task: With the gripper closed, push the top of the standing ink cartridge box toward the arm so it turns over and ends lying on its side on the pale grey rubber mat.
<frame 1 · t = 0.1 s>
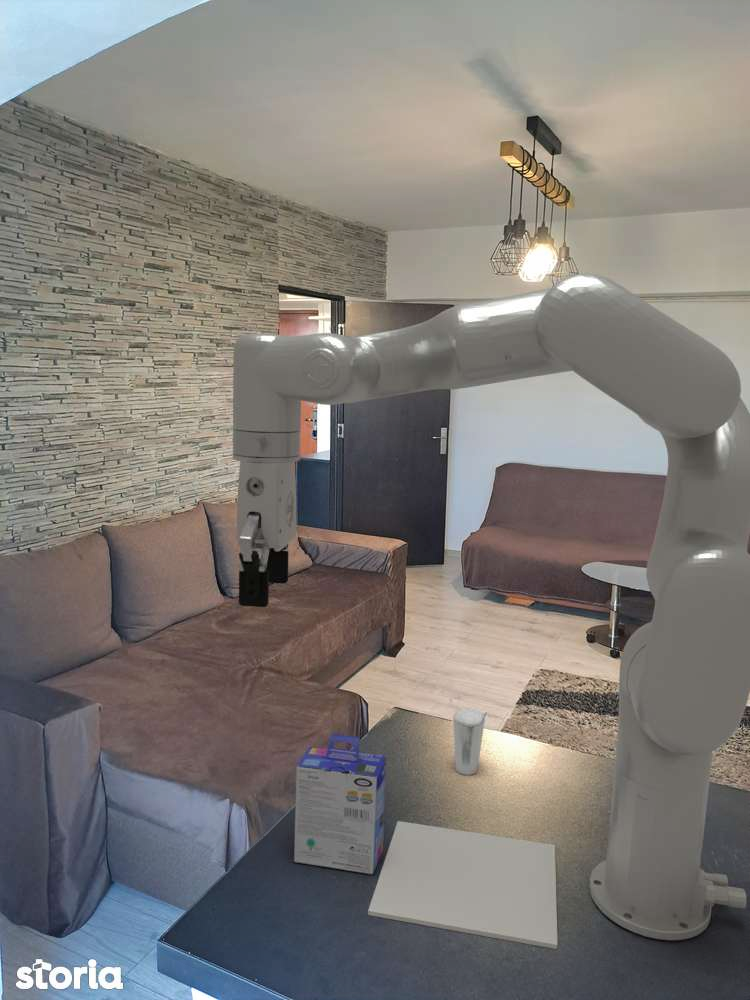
hand: (264, 593, 88), 31 cm above the counter, tool pointing down, fingers open, 9 cm apart
ink cartridge box: (339, 857, 90), on the counter
mat: (467, 879, 86), on the counter
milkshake: (468, 771, 110), on the counter
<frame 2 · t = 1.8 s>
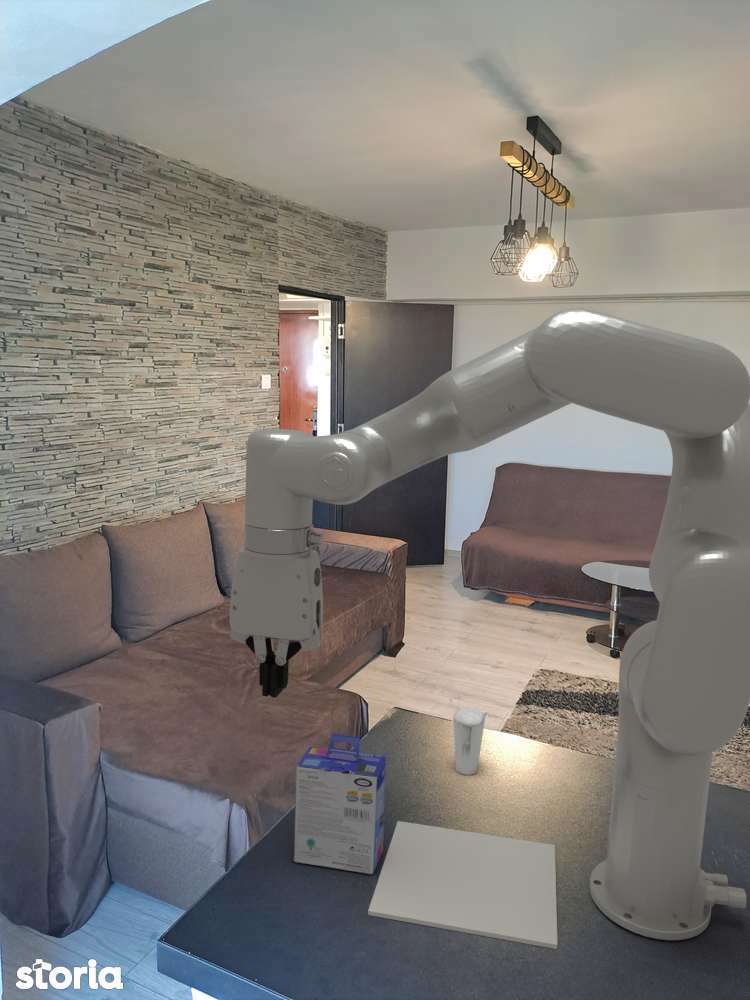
hand: (273, 692, 89), 19 cm above the counter, tool pointing down, fingers closed
nothing on the counter moved.
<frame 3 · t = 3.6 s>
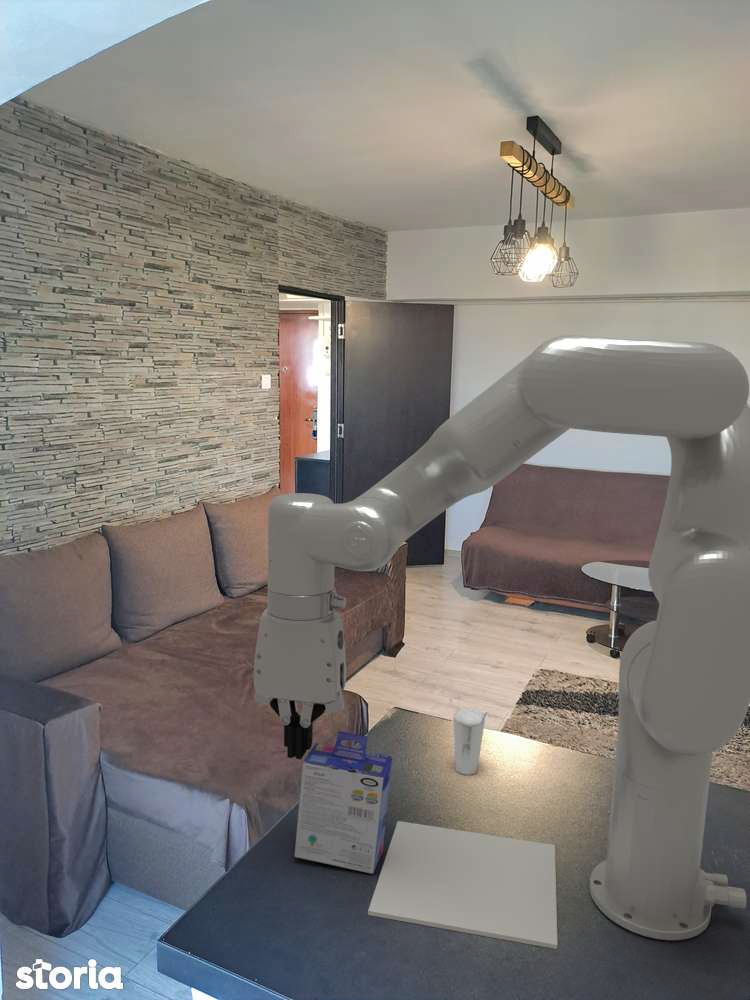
hand: (298, 752, 89), 12 cm above the counter, tool pointing down, fingers closed
ink cartridge box: (339, 854, 90), on the counter, touching gripper
everything else where it was.
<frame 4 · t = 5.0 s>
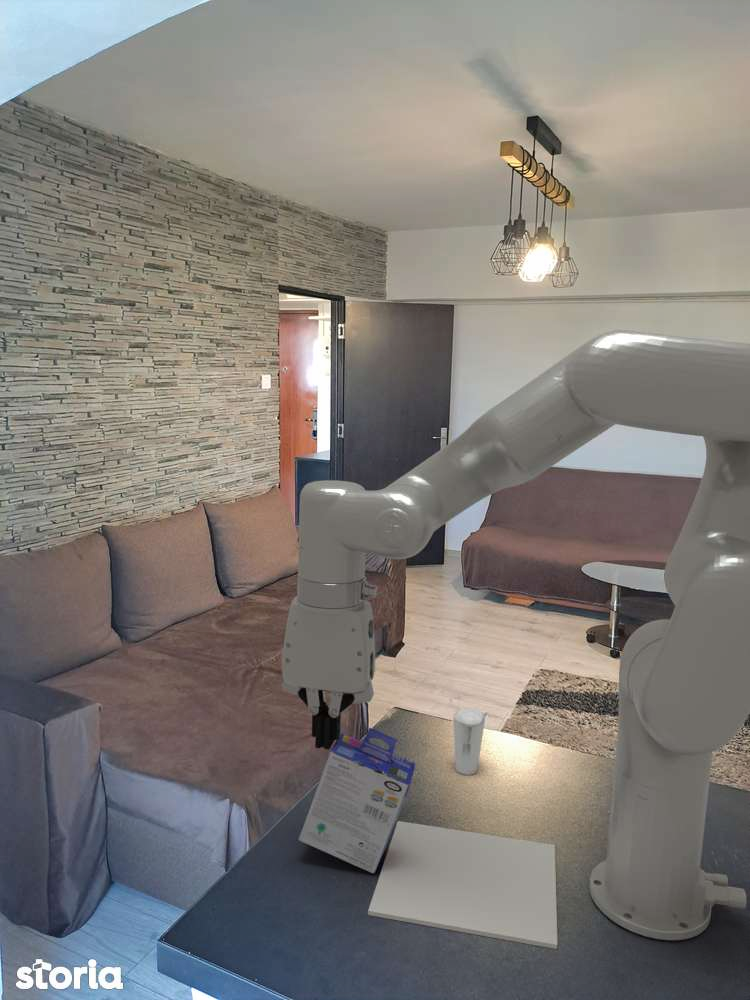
hand: (325, 743, 88), 14 cm above the counter, tool pointing down, fingers closed
ink cartridge box: (341, 846, 90), point 1 cm above the counter, touching gripper
everything else where it was.
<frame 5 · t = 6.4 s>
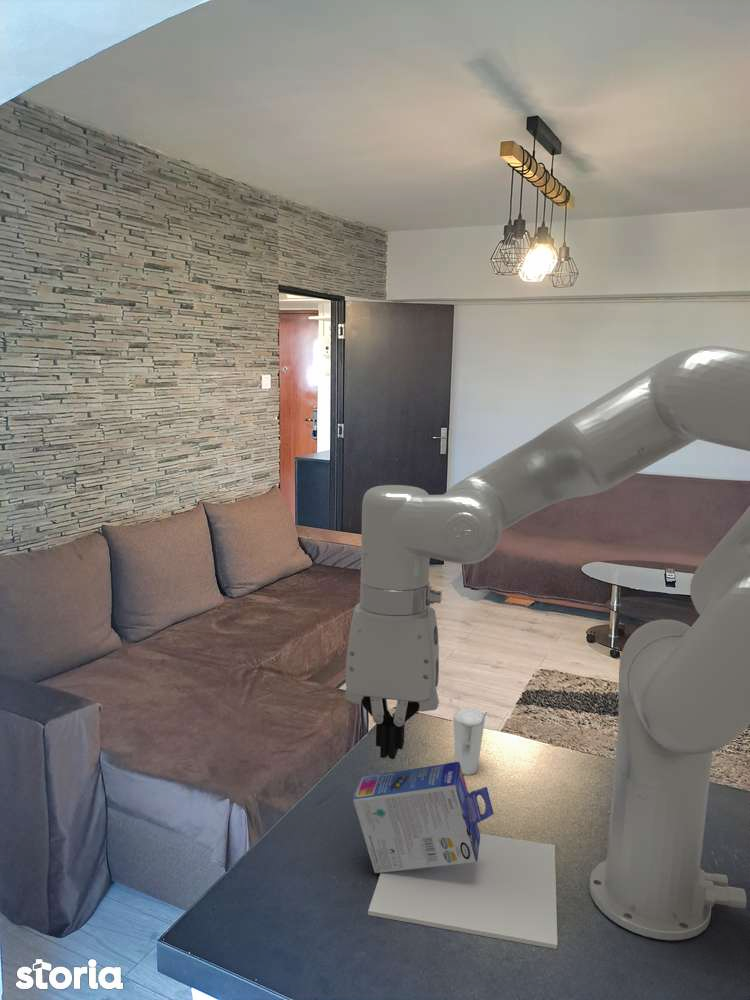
hand: (389, 752, 87), 14 cm above the counter, tool pointing down, fingers closed
ink cartridge box: (365, 823, 88), point 5 cm above the counter, touching mat
everything else where it was.
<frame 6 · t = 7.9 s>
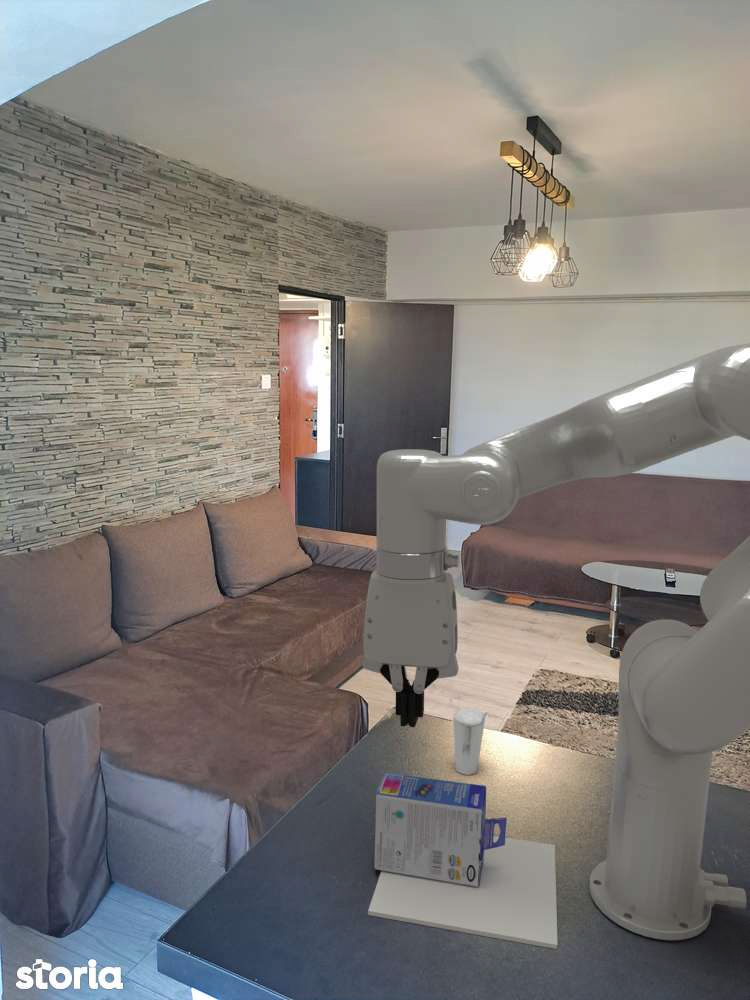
hand: (409, 721, 85), 18 cm above the counter, tool pointing down, fingers closed
ink cartridge box: (377, 818, 88), point 5 cm above the counter, touching mat
everything else where it was.
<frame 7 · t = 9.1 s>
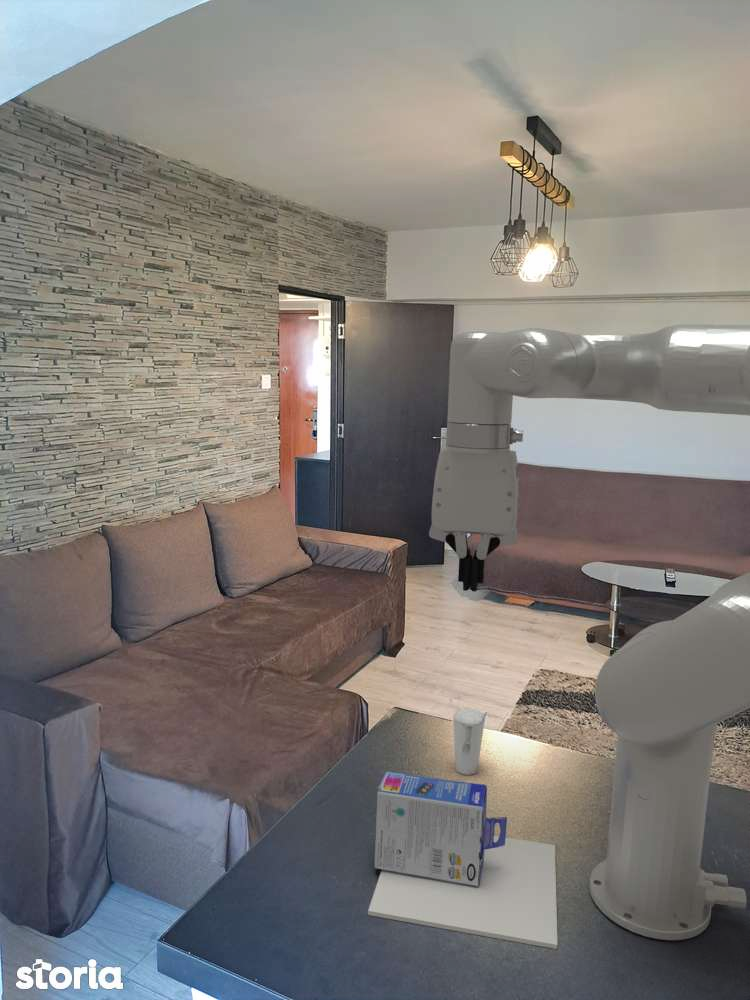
hand: (470, 587, 93), 31 cm above the counter, tool pointing down, fingers closed
nothing on the counter moved.
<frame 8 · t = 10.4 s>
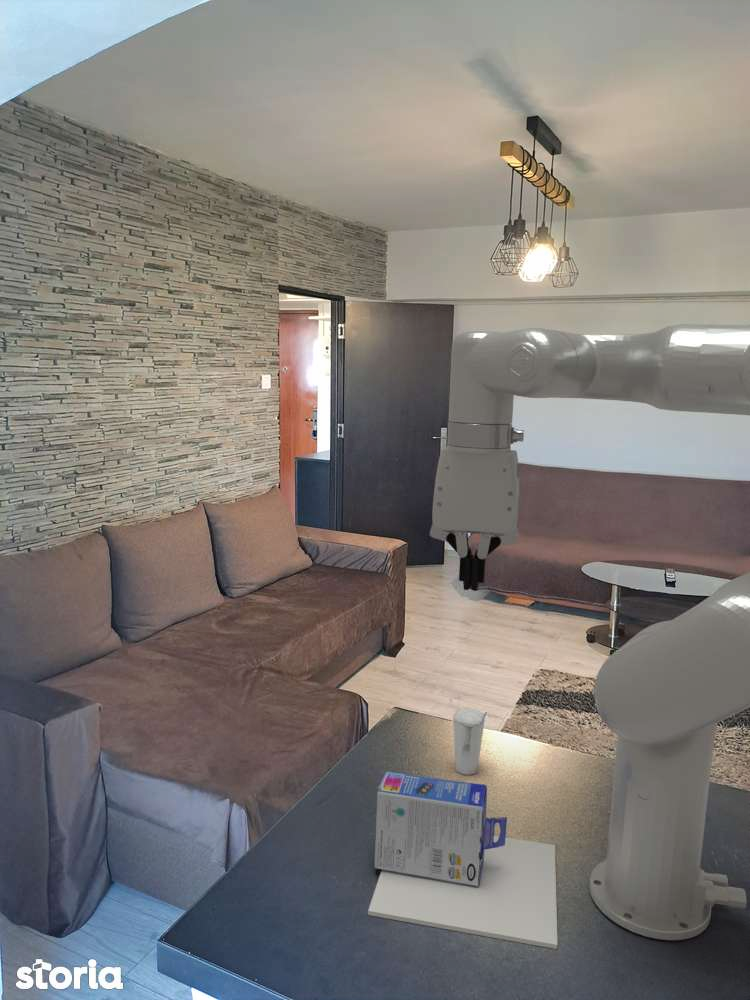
hand: (471, 587, 93), 31 cm above the counter, tool pointing down, fingers closed
nothing on the counter moved.
at the end: ink cartridge box tilted 90°; ink cartridge box inside the target area (0.5 cm from its centre), point 5.4 cm above the counter; ink cartridge box touching mat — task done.
